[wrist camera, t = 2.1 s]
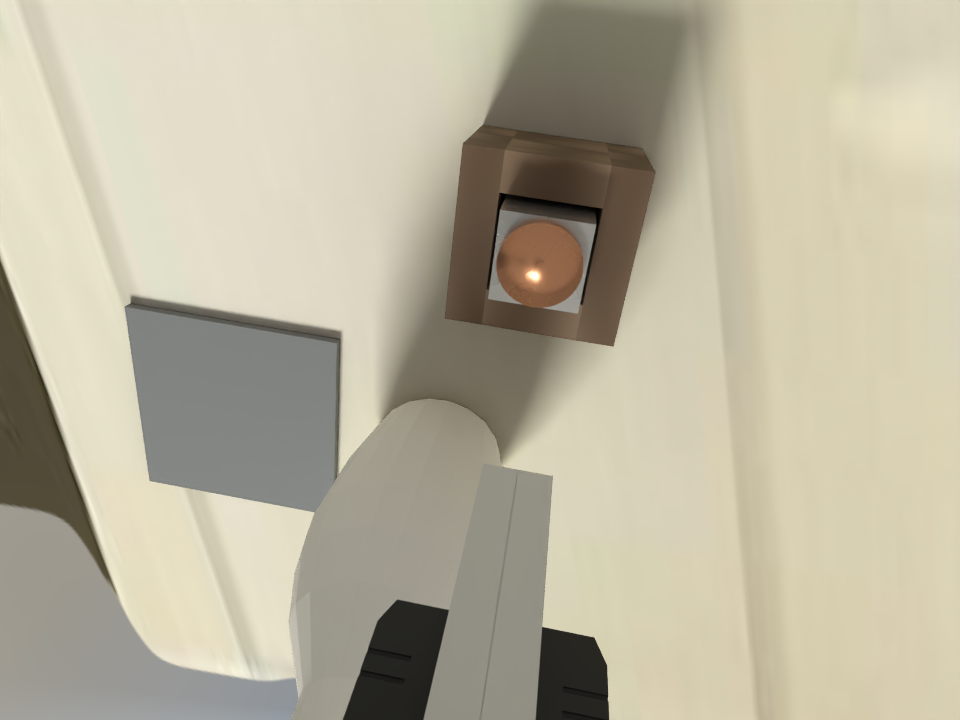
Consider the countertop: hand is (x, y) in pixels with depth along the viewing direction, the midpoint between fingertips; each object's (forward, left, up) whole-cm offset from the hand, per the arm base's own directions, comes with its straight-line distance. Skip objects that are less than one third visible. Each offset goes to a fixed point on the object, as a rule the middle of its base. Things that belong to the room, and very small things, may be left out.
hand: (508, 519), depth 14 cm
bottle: (-5, -18, -27) cm, 33 cm away
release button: (0, 0, -23) cm, 23 cm away
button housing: (0, 0, -27) cm, 27 cm away
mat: (-20, -18, -27) cm, 38 cm away
